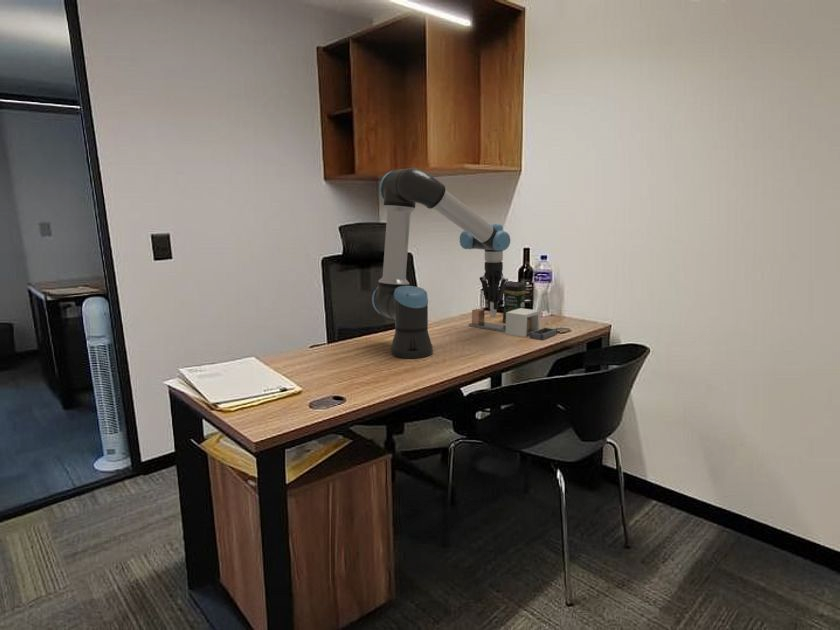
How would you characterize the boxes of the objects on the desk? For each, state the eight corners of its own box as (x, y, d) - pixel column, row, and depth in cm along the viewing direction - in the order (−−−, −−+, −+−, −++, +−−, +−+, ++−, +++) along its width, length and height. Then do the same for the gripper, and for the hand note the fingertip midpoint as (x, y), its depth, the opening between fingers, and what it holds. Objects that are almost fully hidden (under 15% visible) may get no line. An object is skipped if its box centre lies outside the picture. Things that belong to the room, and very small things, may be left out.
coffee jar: (499, 323, 231) (500, 282, 228) (509, 320, 237) (510, 280, 234) (518, 326, 225) (519, 283, 221) (527, 323, 231) (529, 281, 227)
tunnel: (525, 337, 205) (525, 315, 203) (505, 334, 210) (505, 312, 209) (539, 332, 213) (539, 310, 211) (519, 329, 219) (520, 308, 217)
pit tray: (542, 341, 199) (542, 335, 199) (529, 338, 203) (529, 332, 202) (556, 335, 208) (557, 329, 208) (544, 333, 212) (544, 327, 211)
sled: (525, 335, 207) (526, 318, 205) (468, 326, 225) (468, 310, 224) (534, 332, 212) (534, 315, 211) (477, 323, 230) (478, 307, 229)
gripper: (511, 261, 214) (511, 316, 219) (485, 259, 222) (485, 313, 227) (502, 263, 208) (501, 320, 213) (475, 261, 217) (475, 316, 222)
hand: (493, 316), depth 220 cm, fingers closed
